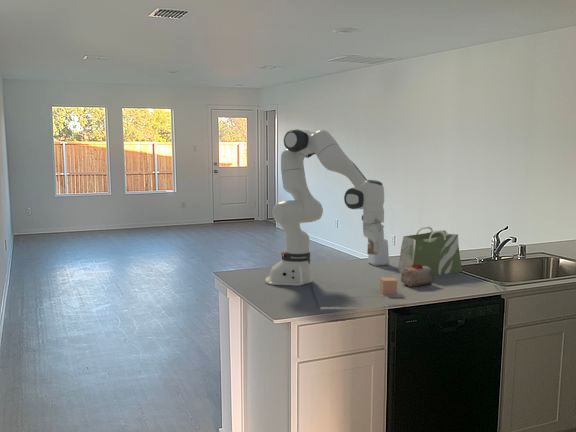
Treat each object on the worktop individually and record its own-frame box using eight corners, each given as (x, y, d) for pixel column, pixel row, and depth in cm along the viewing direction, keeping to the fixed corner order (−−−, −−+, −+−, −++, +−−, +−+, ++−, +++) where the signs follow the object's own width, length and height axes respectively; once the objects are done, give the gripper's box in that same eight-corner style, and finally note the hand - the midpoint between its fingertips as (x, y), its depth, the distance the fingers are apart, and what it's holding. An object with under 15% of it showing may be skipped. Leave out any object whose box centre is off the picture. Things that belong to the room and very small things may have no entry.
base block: (382, 294, 238) (383, 280, 238) (380, 290, 244) (380, 277, 244) (396, 294, 239) (397, 280, 238) (393, 290, 245) (393, 277, 244)
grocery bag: (413, 278, 274) (415, 231, 271) (396, 272, 286) (397, 227, 283) (463, 272, 287) (465, 228, 284) (445, 267, 300) (447, 224, 297)
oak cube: (367, 254, 237) (367, 243, 237) (368, 252, 242) (368, 242, 241) (378, 254, 236) (378, 244, 236) (378, 252, 240) (378, 242, 240)
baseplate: (349, 299, 234) (349, 297, 234) (344, 290, 248) (344, 288, 248) (405, 298, 235) (406, 296, 235) (397, 290, 249) (398, 288, 249)
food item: (409, 288, 254) (410, 267, 253) (399, 284, 261) (399, 263, 260) (433, 285, 260) (434, 264, 258) (422, 281, 267) (423, 261, 266)
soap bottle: (359, 263, 308) (360, 223, 305) (382, 262, 312) (383, 222, 309) (367, 266, 299) (367, 226, 296) (390, 265, 303) (391, 225, 300)
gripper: (387, 220, 227) (387, 254, 229) (374, 215, 248) (374, 246, 249) (372, 221, 227) (372, 254, 228) (360, 215, 247) (360, 246, 248)
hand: (373, 250), depth 239 cm, fingers closed on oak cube, 5 cm apart
